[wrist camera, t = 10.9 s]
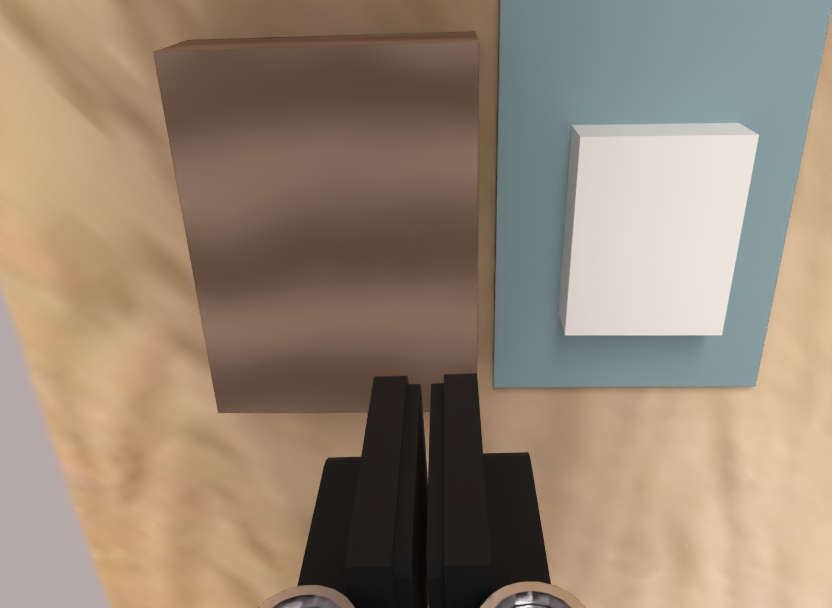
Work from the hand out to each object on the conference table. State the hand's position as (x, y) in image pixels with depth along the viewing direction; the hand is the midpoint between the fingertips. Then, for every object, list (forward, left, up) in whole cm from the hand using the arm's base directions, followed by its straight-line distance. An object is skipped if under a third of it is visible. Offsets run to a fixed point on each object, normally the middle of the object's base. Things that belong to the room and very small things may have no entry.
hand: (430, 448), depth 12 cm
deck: (+4, -4, -22) cm, 23 cm away
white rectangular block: (+4, +9, -21) cm, 23 cm away
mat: (+3, +9, -22) cm, 24 cm away
